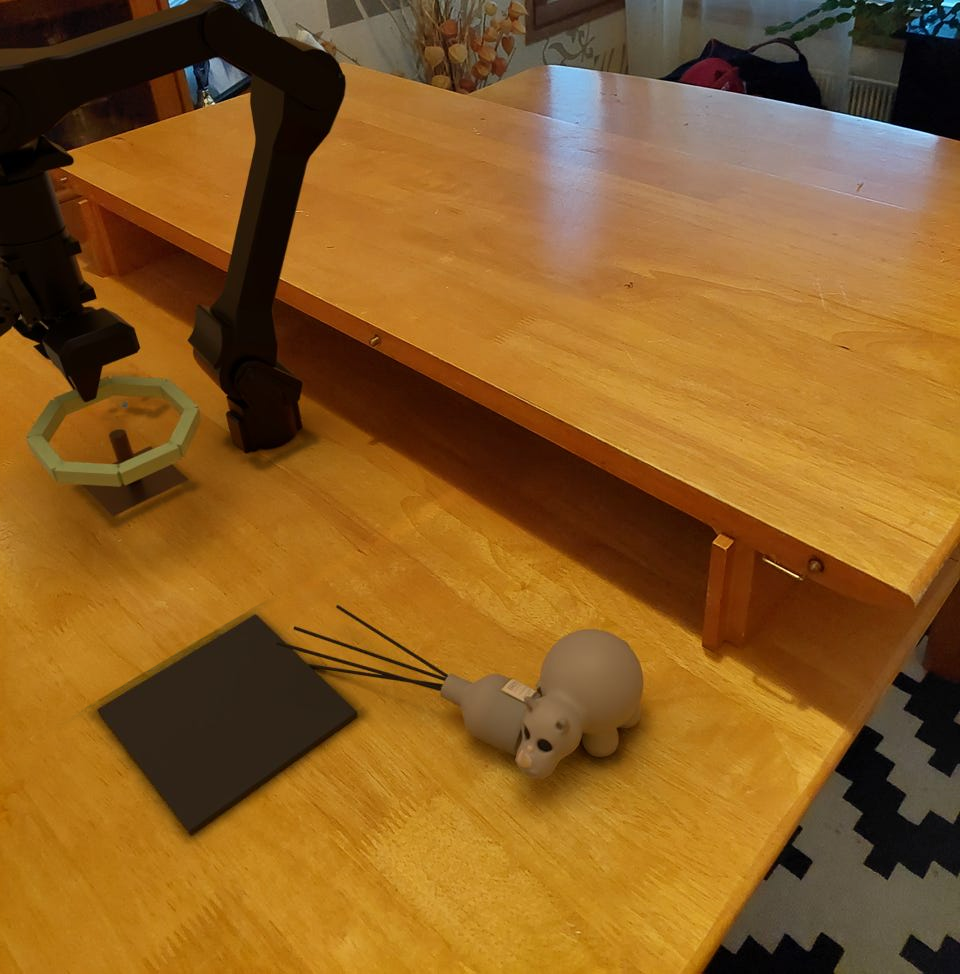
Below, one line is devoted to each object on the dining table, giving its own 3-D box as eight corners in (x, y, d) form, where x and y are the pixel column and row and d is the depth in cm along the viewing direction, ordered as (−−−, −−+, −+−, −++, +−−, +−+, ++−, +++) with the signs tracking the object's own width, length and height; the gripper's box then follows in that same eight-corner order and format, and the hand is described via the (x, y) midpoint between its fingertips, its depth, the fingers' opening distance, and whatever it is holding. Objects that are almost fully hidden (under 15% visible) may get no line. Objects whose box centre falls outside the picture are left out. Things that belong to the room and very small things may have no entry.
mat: (257, 618, 77) (255, 613, 77) (358, 716, 69) (357, 711, 69) (99, 714, 70) (96, 709, 70) (191, 835, 62) (188, 830, 62)
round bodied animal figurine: (477, 773, 65) (472, 695, 60) (578, 670, 72) (582, 592, 67) (559, 833, 61) (562, 756, 56) (657, 718, 68) (668, 640, 63)
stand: (153, 453, 96) (136, 400, 92) (191, 486, 92) (175, 433, 88) (79, 487, 92) (59, 434, 88) (115, 524, 88) (95, 470, 84)
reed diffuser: (524, 729, 60) (276, 607, 67) (498, 813, 62) (261, 688, 69) (575, 667, 69) (352, 566, 76) (550, 743, 71) (336, 638, 78)
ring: (152, 372, 87) (149, 359, 86) (224, 440, 80) (222, 427, 79) (12, 428, 80) (6, 415, 80) (76, 508, 73) (72, 495, 72)
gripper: (-115, 226, 75) (-41, 390, 84) (-39, 303, 64) (36, 481, 73) (23, 189, 80) (77, 346, 90) (114, 254, 69) (165, 425, 79)
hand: (86, 396), depth 83 cm, fingers closed on ring, 1 cm apart
